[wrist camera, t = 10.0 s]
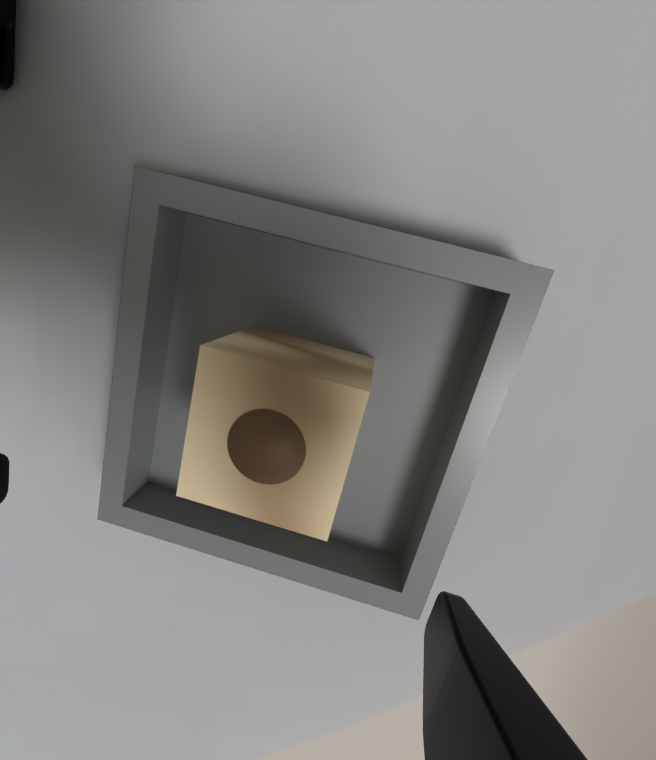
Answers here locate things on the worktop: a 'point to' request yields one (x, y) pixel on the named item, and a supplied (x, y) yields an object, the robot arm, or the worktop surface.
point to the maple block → (274, 428)
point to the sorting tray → (326, 326)
